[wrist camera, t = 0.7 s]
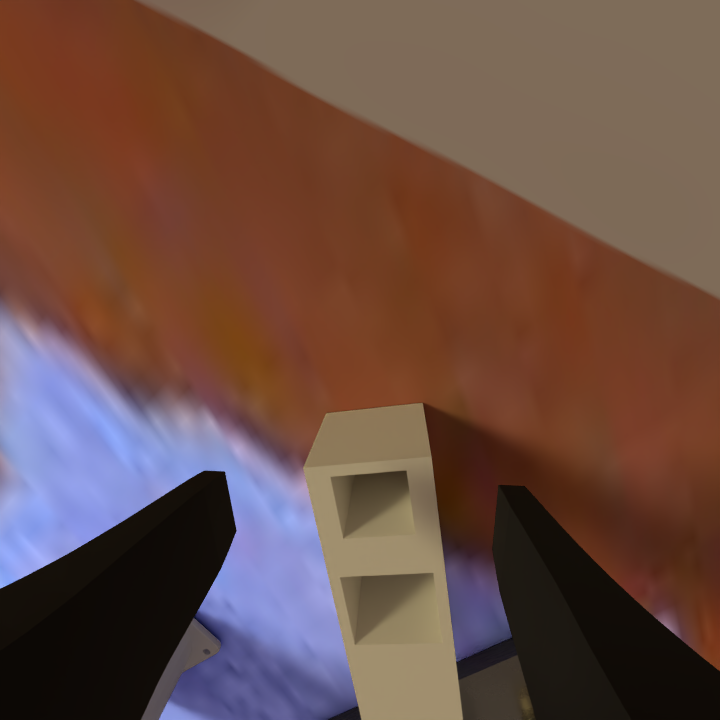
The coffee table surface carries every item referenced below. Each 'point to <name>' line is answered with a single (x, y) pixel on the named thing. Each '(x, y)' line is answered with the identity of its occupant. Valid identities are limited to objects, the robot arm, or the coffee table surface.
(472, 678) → the flange base
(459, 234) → the coffee table surface
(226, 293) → the coffee table surface
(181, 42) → the coffee table surface
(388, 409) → the block with holes
